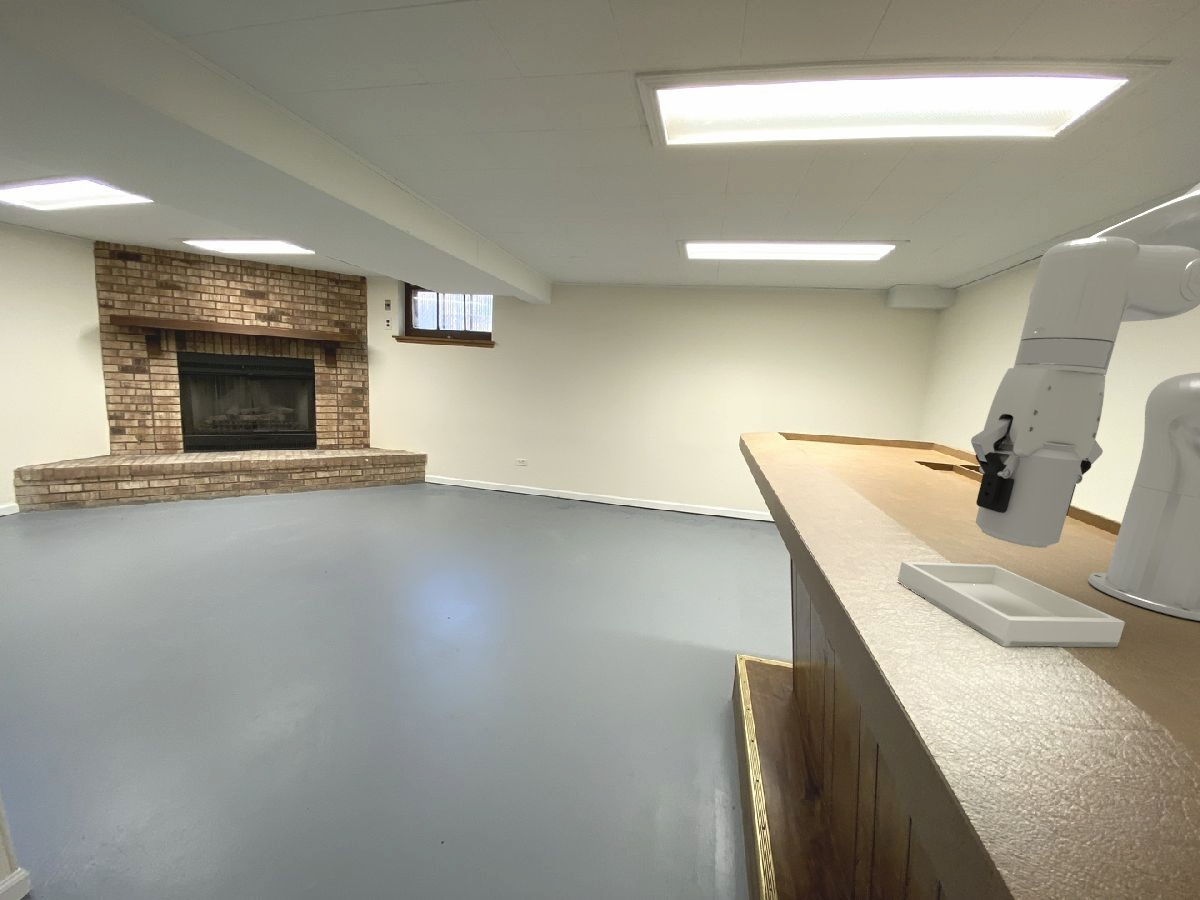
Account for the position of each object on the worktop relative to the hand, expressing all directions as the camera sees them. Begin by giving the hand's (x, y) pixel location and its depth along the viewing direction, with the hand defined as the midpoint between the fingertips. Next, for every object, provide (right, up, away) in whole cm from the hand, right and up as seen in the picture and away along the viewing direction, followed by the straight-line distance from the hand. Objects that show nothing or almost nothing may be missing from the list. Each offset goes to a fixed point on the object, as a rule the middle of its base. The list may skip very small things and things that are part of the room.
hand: (1020, 510), depth 54 cm
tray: (-1, -13, +2) cm, 13 cm away
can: (0, -4, +1) cm, 4 cm away
